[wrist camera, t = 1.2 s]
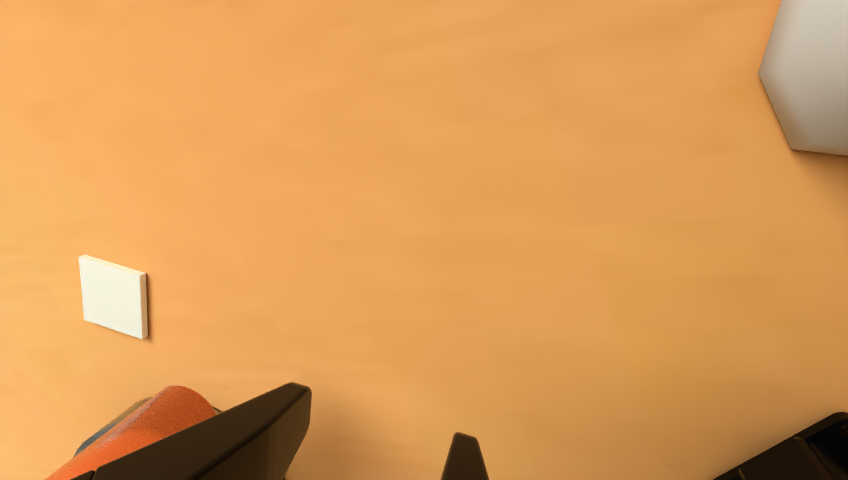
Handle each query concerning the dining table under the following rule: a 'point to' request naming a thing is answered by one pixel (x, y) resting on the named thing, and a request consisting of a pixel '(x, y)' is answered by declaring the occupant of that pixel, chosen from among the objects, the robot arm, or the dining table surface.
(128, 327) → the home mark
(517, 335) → the dining table surface
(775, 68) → the flask
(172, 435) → the robot arm
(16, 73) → the dining table surface
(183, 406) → the copper crank handle
